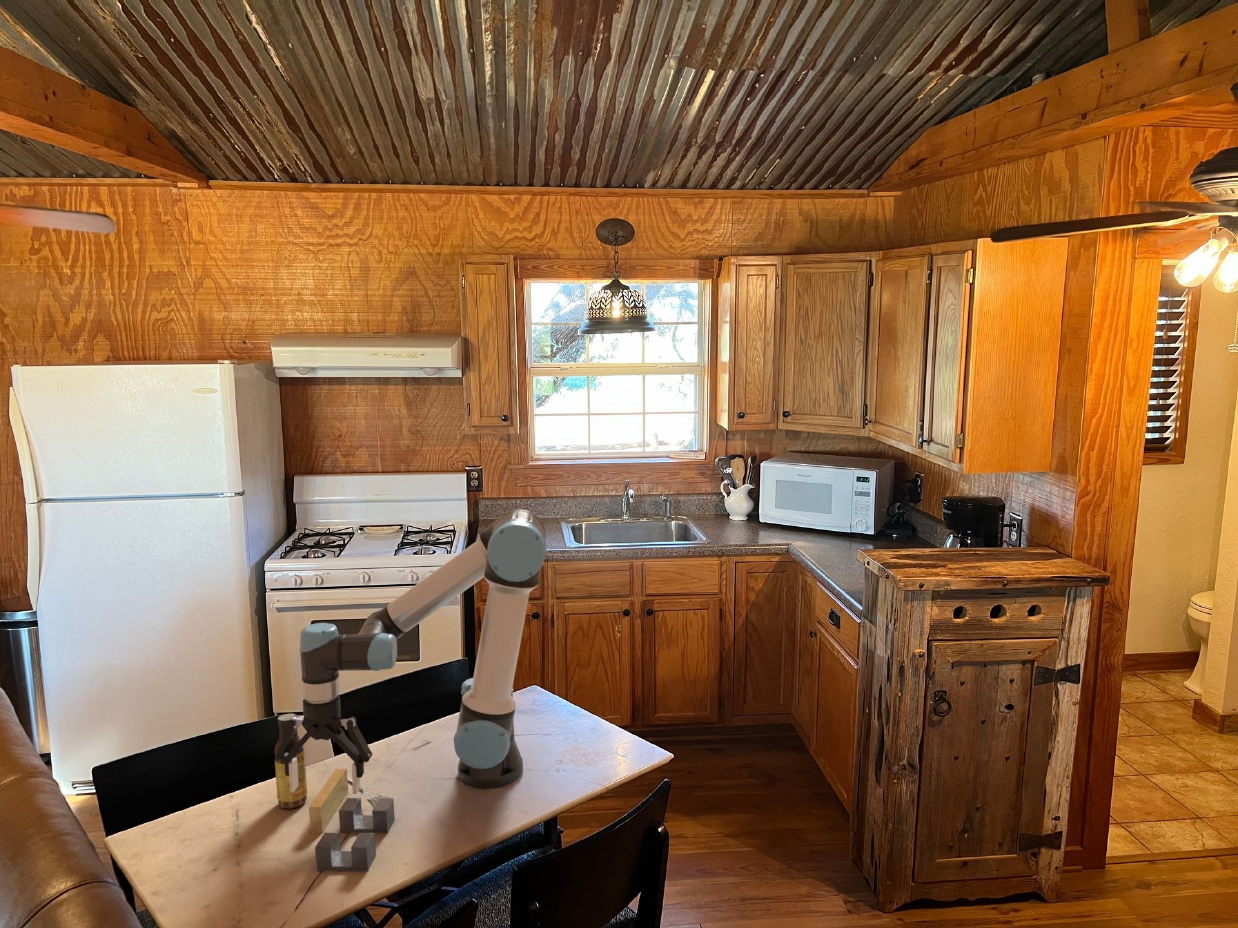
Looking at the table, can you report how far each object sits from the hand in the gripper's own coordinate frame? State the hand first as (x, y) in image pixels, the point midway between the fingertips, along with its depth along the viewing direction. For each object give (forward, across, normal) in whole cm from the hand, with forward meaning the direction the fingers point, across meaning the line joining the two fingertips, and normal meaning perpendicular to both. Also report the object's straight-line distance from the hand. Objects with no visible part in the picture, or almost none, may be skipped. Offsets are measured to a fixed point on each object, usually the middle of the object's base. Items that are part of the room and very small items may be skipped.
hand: (325, 789), depth 192 cm
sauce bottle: (+6, +9, -4) cm, 11 cm away
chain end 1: (+5, -11, +5) cm, 13 cm away
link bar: (+5, -1, 0) cm, 5 cm away
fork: (+6, -3, -12) cm, 13 cm away
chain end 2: (+5, -11, +18) cm, 22 cm away
